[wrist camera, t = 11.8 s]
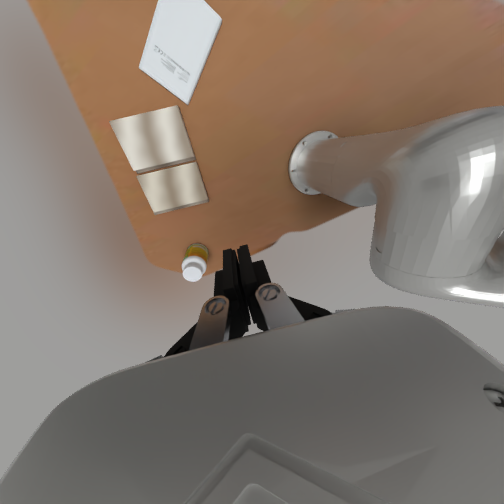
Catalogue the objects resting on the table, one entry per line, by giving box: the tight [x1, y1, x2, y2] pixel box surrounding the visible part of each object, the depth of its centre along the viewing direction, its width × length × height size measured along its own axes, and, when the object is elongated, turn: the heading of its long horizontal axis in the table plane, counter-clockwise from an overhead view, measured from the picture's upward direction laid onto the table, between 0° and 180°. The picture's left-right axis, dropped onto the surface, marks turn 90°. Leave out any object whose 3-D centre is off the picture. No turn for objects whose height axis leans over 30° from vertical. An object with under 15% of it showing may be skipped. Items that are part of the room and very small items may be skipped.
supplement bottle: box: [182, 244, 208, 282], centre depth 43 cm, size 5×5×10 cm
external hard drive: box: [139, 0, 222, 105], centre depth 29 cm, size 2×8×12 cm
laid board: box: [109, 106, 196, 174], centre depth 34 cm, size 12×9×1 cm
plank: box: [136, 162, 209, 215], centre depth 38 cm, size 12×8×1 cm, turn 102°
